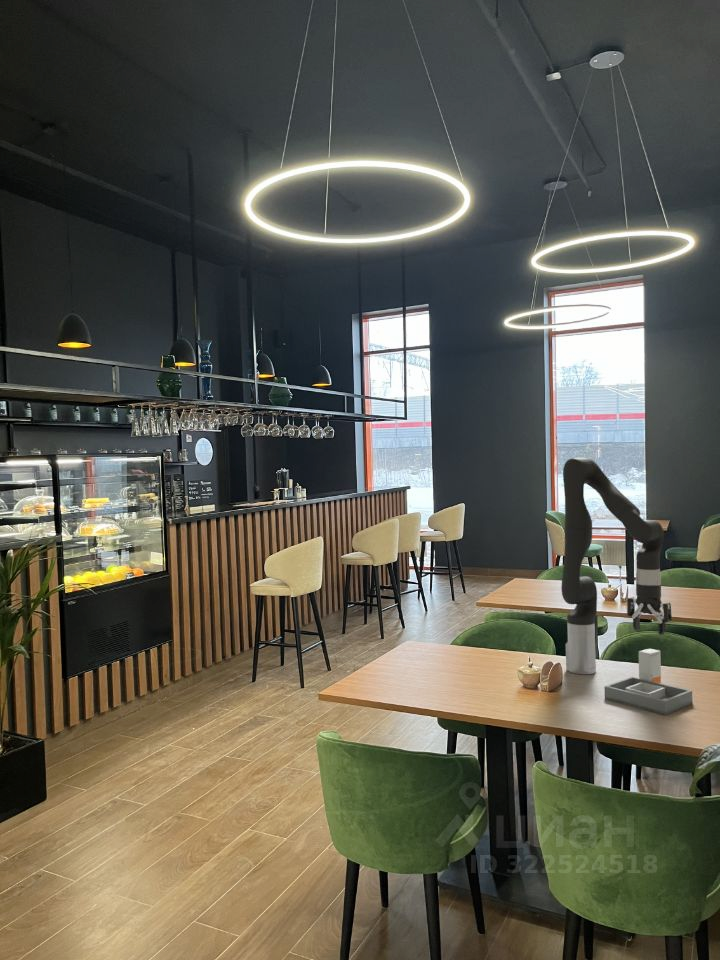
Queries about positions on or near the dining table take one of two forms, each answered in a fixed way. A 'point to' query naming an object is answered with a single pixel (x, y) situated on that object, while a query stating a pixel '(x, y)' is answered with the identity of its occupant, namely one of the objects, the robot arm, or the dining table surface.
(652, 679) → the skincare box
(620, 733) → the dining table surface
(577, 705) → the dining table surface
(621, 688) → the walled box
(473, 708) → the dining table surface
